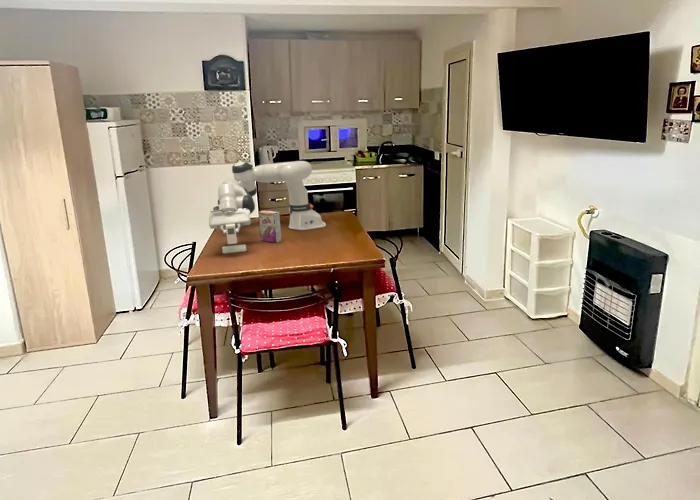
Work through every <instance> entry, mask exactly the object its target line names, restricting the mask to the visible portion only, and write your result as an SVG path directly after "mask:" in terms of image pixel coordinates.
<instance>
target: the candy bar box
mask: <svg viewBox="0 0 700 500" xmlns="http://www.w3.org/2000/svg"><path fill="white" fill-rule="evenodd" d="M257 213H258V221H259V222H258V223H259V233H260V241H261V242H267V243H275V244H277V243H279V242H282V239H283V238H282V229H281V217H280V216H281V215H280V211H272V210H261V211H258V212H257Z"/></svg>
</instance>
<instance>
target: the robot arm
mask: <svg viewBox="0 0 700 500" xmlns="http://www.w3.org/2000/svg"><path fill="white" fill-rule="evenodd" d="M312 171H313V167H312V165H311V163H310V162H308V161H306V160H295V161H294V160H293V161H287V162H285V161H284V162H276V163H266V164H259V165H256V166H254V165H253V164H251V163H250V162H247V161H238V162H235V163H234V164H233V165H232V166H231V172H232V174H233V177H232V178H231V177H228V178H227V179H225V180H224V181H223V182H222V183H221V184H219V186H218V188H217V189H218V190H217V193H218V195H217V197H218V199H217V205H216V206H213V207H211V208H210V214H209V218H208V226H209V229H211V230H214V229H220V230H221V231H222V232H223V235H227V233H226V225H227V224H235V227H237V228H236V234H240V233H239V232H240V229H241V228H242V226H243V227H244V226H250V225H251V223H252V221H251V216H250V215H251V214H253V212H254V211H255V209H256V202H255V200H254V196H256V195H257V192H258V188H257V185H256V184H257V183H256V182H259V183H282V182H284V183H285V186H286V187H287V192H288V199H289V204H288V212H289V224H288V228H289V229H291V230H298V231H306V230H307V231H308V230H315V229H320V228H325V227H326V226H327V224H326V222H325V221H324V220H323V219H322V216H321V215H320V213H318V212H317V211H316V210H313V208H314V205H313V204H312V203H309V196H308V189H307V188H306V187H305V184H304V182H303V180H305V179H308V177H310V175H311V174H312V173H313V172H312Z"/></svg>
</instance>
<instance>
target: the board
mask: <svg viewBox="0 0 700 500" xmlns="http://www.w3.org/2000/svg"><path fill="white" fill-rule="evenodd" d="M241 252H247V245H246V244H233V245H227V246H222V254H232V253H241Z"/></svg>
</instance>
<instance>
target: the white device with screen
mask: <svg viewBox="0 0 700 500" xmlns="http://www.w3.org/2000/svg"><path fill="white" fill-rule="evenodd" d="M236 229H237V228H236V226H235V224H227V225H226V227H225V230H226V233H227V234H226V238H227V239H226V241H227V245H236V244H238V239H237V233H236Z"/></svg>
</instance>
